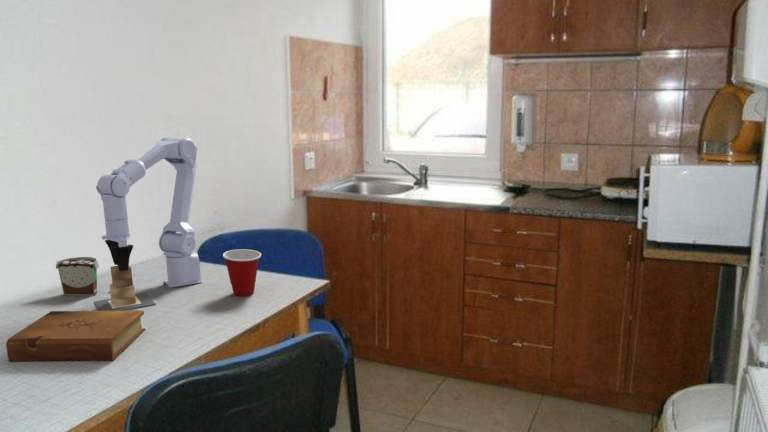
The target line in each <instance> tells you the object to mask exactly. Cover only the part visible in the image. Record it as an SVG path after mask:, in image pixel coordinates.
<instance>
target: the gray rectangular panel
mask: <svg viewBox="0 0 768 432" xmlns="http://www.w3.org/2000/svg"><path fill="white" fill-rule="evenodd" d="M135 299H136V303H135V304H129V305H123V306H118V307H114V305H113V303H112V302H111V298H105V299H99V300H94V304H95V306H96V308H97V311H131V310H135V309H140V308H145V307H151V306H156V305H157V304H156V302H155V301H154V300H153V299H152V297H151V295H149V294H148V293H147V292H141V293H137V294H136V293H135Z"/></svg>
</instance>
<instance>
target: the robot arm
mask: <svg viewBox="0 0 768 432" xmlns="http://www.w3.org/2000/svg"><path fill="white" fill-rule="evenodd" d="M197 153H198V147H197V146H196V144H195V142H194V141H193V140H192V139H191V138H189V137H185V138H181V137H180V138H178V137H173V138H172V137H162V138H161V139H160V140H158V141H156V143H155V145H154V146H153V147H152V148H151V149H150V150H149V149H148V151H146V152H145V153H144V154H143V155H142V156H141V157H140V158H139V157H138V159H126V160H125V161H124V164H122V165H121V166H119V167H118V168H114V169H112V172H111V173H110V174H103V175H102V176H101V177H99V178H98V181H97V185H96V186H95V188H96V192H97V193H98V194H99V195H100V199H101V201H102V207H103V215H104V225H105V235H102V236H101V239H102V240H104V242H105V244H106V245H107V248H108V249H109V252H110V254H111V258H112V261H113V264H114V266H118V269H119V271H126V270H128V266H130V258H131V255H132V251H133V249H134V244H128V240H129V238H130V237H131V233H130V229H129V220H128V208H127V199H126V196H127V195H128V194H129V192H130V189H131V187H132V186H133V185H134V184H136V183H137V182H138V181H140V180H141V179H143V178H144V177H145V176H146V170H148V169H149V168H152V166H154V165H156V164H157V163H159V162H160V161H162V160H165V161H166V162H167V163H169V164H170V165H171V166H173V167H174V169H175V170H176V174H175V175H176V176H175V182H174V189H173V196H172V204H171V210H170V211H171V212H170V217H169V219H170V220H169V222H168V223H167V224H166V225H164V226H163V228H162V233H161V235H160V236H159V239H158V247H159V249H160V250H161V252H163V256H165V262H166V263H165V264H166V273H167V275H166V277H167V279H164V283H165V284H166V285H167V286H168V287H169V288H177V287H182V286H188V285H189V286H190V285H194V284H195V285H196V284H200V283H202V277H201V275H202V274H201V262H200V257H199V255H198V252H194V250H195V249H196V238H195V237H196V235H195V233H196V230H195V229H194V228H193V227H192V226H191V224H190V215H191V210H192V202H193V196H194V195H193V192H194V188H195V179H196V178H195V177H196V173H197V172H196V170H197V163H196V162H197V161H196V160H197Z"/></svg>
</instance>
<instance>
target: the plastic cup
mask: <svg viewBox="0 0 768 432" xmlns="http://www.w3.org/2000/svg"><path fill="white" fill-rule="evenodd" d="M222 257H223V258H224V261H225V266H226V269H227V271H228V272H227V273H228V277H229V281H230V285H231V289H232V293H233V295H234V296H238V297H246V296H250V295H253V294H254V293H255V289H256V287H255V286H256V281H257V280H256V279H257V273H258V272H257V271H258V266H259V262H260V259H261V257H262V253H261V252H259V251H258V250H253V249H249V248H248V249H247V248H246V249H245V248H242V249H241V248H239V249H231V250H227V251H225V252H223V254H222Z"/></svg>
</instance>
